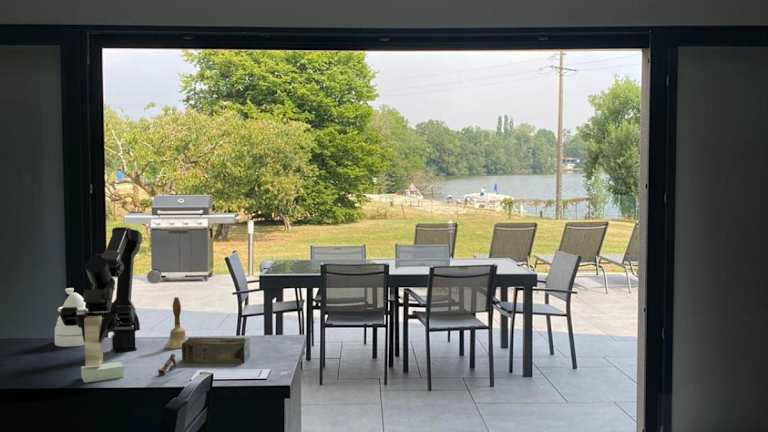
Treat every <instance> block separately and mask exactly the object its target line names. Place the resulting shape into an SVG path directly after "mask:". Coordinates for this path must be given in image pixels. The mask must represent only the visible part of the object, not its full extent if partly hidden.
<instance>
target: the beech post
mask: <svg viewBox="0 0 768 432" xmlns="http://www.w3.org/2000/svg"><path fill="white" fill-rule="evenodd" d="M102 325H103V319H102V316H88V317H86V318H85V319H84V328H85V345H84V353H85V354H84V356H85V357H84V359H85V366H100V365H101V364H104V347H103V346H104V343H103V340H104V339H103V340H102V342H99V336H100V332H101V329H102Z"/></svg>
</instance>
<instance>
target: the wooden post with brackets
mask: <svg viewBox="0 0 768 432" xmlns="http://www.w3.org/2000/svg"><path fill="white" fill-rule="evenodd" d="M171 364H172V365H171ZM168 367H169V368H168ZM177 367H178V364H177V361H176V353H171V354H170V356H169V358H168V360H166V362H165V363H164V366H163V367H161V369H157V371H158V375H162V376H163V375H164V376H166V371H167V369H168V371H170V372H172V371H174V369H175V368H177Z"/></svg>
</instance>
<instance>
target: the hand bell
mask: <svg viewBox="0 0 768 432" xmlns="http://www.w3.org/2000/svg"><path fill="white" fill-rule="evenodd" d="M181 311H182V305H181V302H180V298H179V296H177V297H174V298H173V302H172V312H173V315H174V327H173V328H172V329H171V330H170V335H169V338H168V341H167V343H166V344H165V346H164V348H165V347H166V349H168V348H169V350H179V349H182V343H184V342H185V341H186V340H188V338H187V335H186V330H185V329H184V328H182V327H181V319H180V315H181ZM170 348H171V349H170Z"/></svg>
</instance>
